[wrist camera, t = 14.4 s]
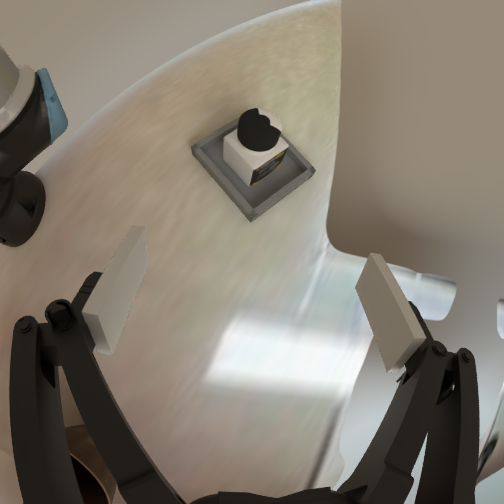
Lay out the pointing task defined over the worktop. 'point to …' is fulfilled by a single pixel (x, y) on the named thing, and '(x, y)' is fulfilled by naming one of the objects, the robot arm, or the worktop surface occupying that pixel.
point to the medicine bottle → (255, 145)
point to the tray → (264, 191)
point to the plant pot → (89, 467)
